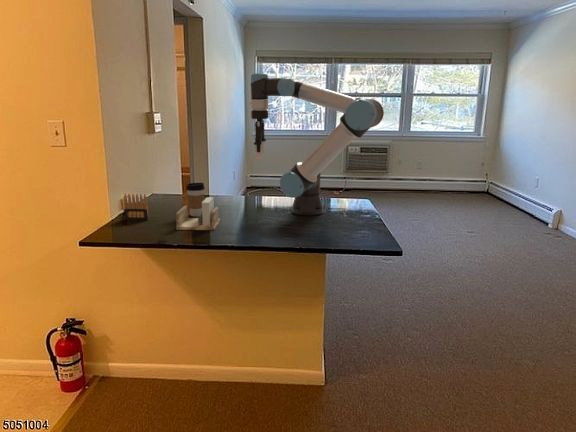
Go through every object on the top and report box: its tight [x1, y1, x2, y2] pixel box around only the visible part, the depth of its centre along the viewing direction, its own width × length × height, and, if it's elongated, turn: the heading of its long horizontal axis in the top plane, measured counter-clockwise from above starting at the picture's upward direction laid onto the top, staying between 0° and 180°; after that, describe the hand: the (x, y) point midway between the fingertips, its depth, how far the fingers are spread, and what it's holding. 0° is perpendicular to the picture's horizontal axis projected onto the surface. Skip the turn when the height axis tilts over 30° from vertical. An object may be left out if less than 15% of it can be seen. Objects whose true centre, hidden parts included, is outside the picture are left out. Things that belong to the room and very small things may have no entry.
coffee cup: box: [185, 182, 206, 217], centre depth 205 cm, size 8×8×15 cm
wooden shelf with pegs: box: [175, 205, 221, 231], centre depth 190 cm, size 16×14×7 cm
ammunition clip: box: [123, 193, 150, 221], centre depth 198 cm, size 11×2×12 cm, turn 88°
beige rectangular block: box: [202, 196, 215, 226], centre depth 189 cm, size 3×10×10 cm, turn 178°
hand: (260, 157), depth 202 cm, fingers open, 13 cm apart
